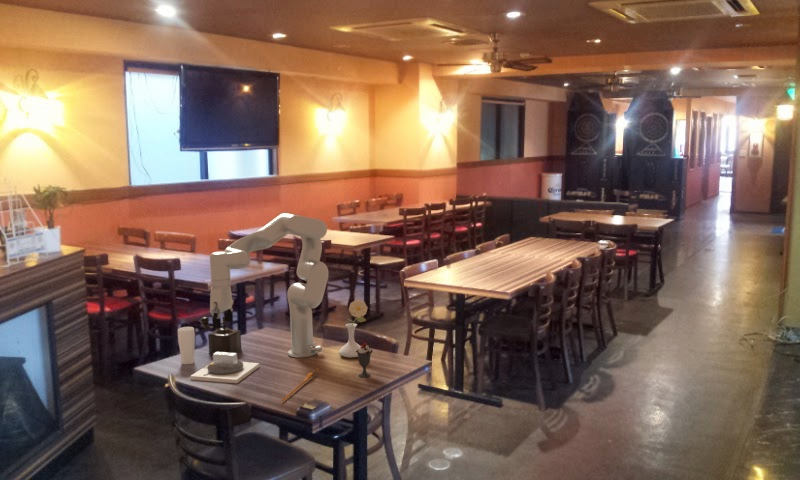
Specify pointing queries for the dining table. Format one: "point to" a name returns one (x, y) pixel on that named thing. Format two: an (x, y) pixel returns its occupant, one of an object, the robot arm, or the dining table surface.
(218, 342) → the coffee grinder
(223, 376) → the dial plate
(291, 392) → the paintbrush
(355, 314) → the flower in vase
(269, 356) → the dining table surface
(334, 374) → the dining table surface
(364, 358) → the sundae
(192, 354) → the drinking glass
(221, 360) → the dial
